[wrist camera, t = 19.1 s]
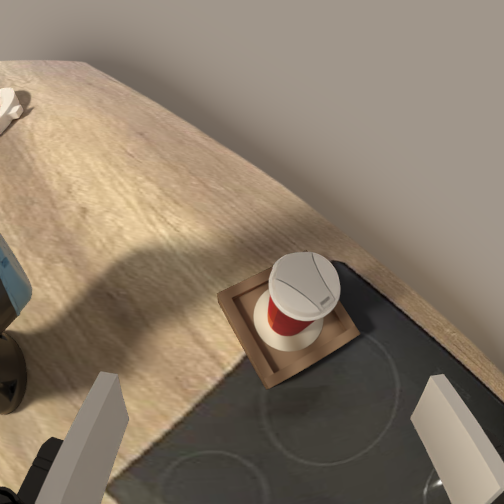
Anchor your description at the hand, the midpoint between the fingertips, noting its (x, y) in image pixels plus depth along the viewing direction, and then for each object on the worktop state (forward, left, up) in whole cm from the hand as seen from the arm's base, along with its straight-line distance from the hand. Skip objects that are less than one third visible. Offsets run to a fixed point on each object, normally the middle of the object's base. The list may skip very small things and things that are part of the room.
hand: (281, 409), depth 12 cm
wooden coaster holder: (+11, +8, -34) cm, 36 cm away
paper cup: (+10, +8, -31) cm, 33 cm away
